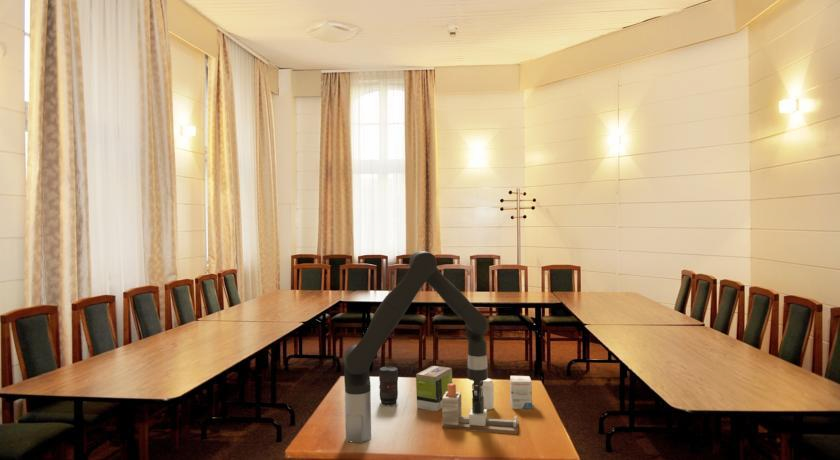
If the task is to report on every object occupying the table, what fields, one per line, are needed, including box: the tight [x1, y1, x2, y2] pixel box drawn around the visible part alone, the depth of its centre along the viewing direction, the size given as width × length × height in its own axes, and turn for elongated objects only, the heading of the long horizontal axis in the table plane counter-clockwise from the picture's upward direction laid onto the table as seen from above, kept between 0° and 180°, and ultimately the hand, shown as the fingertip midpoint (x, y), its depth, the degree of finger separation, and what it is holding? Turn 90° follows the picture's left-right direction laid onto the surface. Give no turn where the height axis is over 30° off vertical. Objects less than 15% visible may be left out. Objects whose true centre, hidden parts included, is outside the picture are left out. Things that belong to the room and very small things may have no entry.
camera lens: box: [378, 366, 399, 406], centre depth 226 cm, size 8×8×15 cm
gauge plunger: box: [448, 382, 457, 397], centre depth 201 cm, size 3×3×10 cm
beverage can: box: [483, 377, 495, 411], centre depth 218 cm, size 6×6×12 cm
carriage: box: [468, 396, 488, 426], centre depth 199 cm, size 7×6×9 cm
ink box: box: [509, 375, 533, 410], centre depth 221 cm, size 9×8×12 cm
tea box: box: [415, 365, 453, 412], centre depth 223 cm, size 15×10×15 cm, turn 149°
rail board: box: [441, 391, 520, 435], centre depth 199 cm, size 10×28×11 cm, turn 76°
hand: (478, 411), depth 199 cm, fingers closed on carriage, 3 cm apart
